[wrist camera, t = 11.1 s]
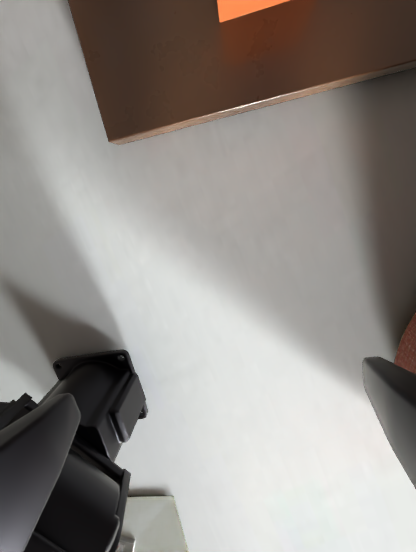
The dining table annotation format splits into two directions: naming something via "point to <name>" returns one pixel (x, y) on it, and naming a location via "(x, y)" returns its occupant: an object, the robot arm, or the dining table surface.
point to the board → (231, 56)
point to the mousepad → (151, 526)
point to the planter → (408, 347)
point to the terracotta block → (242, 7)
